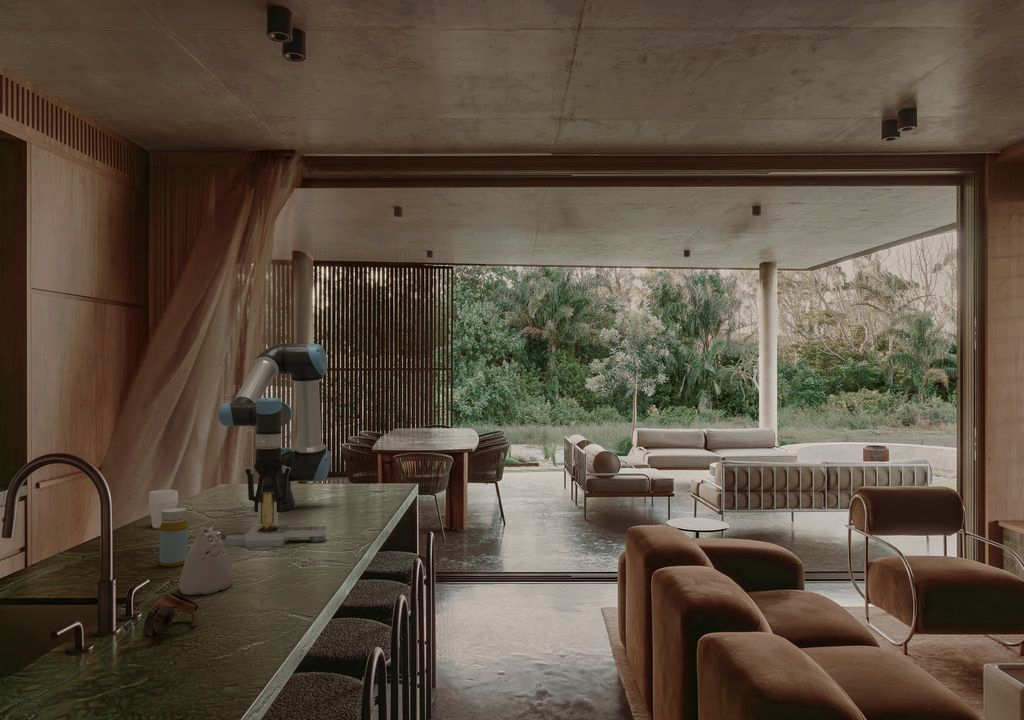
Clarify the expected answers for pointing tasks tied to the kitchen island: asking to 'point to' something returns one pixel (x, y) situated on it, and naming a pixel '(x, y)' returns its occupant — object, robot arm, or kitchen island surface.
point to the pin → (267, 512)
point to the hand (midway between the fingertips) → (267, 522)
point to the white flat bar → (273, 536)
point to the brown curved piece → (168, 613)
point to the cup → (161, 504)
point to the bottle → (173, 537)
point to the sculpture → (206, 565)
